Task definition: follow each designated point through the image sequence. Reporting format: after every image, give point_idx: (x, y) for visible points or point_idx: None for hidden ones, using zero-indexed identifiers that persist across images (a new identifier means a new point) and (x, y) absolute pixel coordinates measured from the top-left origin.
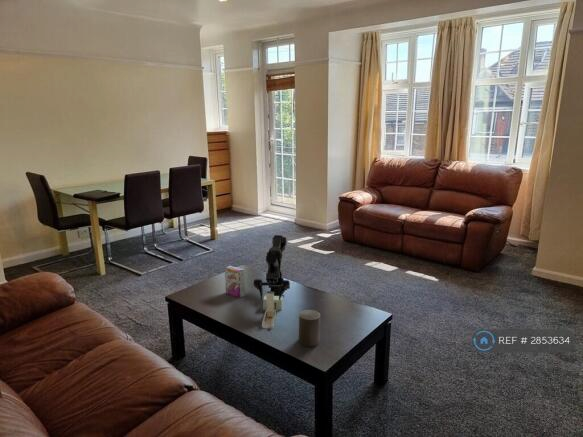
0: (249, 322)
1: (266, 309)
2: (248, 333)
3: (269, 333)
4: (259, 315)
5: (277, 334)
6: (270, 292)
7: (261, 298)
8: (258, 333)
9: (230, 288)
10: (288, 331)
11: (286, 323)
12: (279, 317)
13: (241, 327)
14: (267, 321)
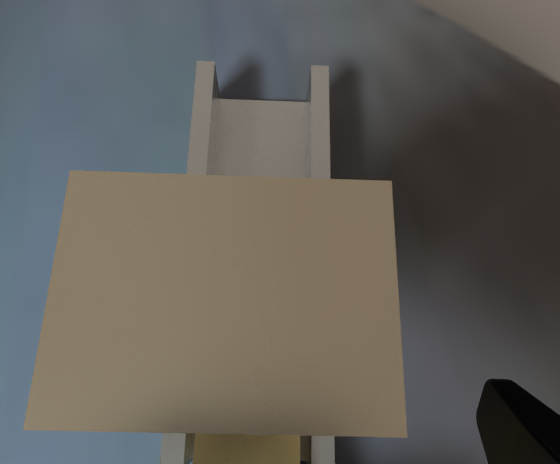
0: (492, 223)
1: (330, 456)
2: (435, 21)
3: (231, 27)
4: (416, 418)
5: (150, 14)
6: (206, 279)
7: (507, 381)
8: (339, 24)
9: None
10: (34, 65)
11: (42, 222)
12: None
13: (543, 118)
14: None
